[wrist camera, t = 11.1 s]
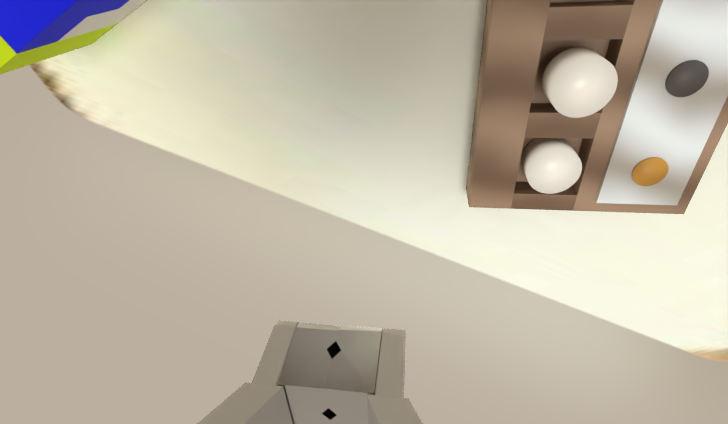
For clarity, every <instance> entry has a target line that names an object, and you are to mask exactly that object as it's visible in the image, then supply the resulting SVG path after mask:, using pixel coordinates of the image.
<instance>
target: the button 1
mask: <svg viewBox="0 0 728 424" xmlns="http://www.w3.org/2000/svg"><path fill="white" fill-rule="evenodd" d="M521 165H522V168H523V170H524V173H525V175H526V178H527V180H528V183H529V184H530V186H531V187H532V188H533V189H535V190H536V191H538V192H541V193H546V194H553V193H559V192H562V191H564V190H566V189H568V188H570V187H571V186H572V185H573V184H574V183H575V182H576V181H577V180H578V179H579V177H580V175H581V171H582V163H581V160H580V158H579V156H578V155H577V153H576V152H575V150H574V149H573V147H572V146H571V144H570V143H569V142H568V141H567V140H566V139H565V138H536V139H534V140H533V141H531V142H530V143H529V144H528V145H527V146H526V147H525V149H524V151H523V153H522V156H521Z"/></svg>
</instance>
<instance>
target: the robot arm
mask: <svg viewBox="0 0 728 424" xmlns="http://www.w3.org/2000/svg"><path fill="white" fill-rule="evenodd" d="M404 374H405V330H396V329H383V328H373V327H357V326H333V325H323V324H313V323H303V322H292V321H291V322H290V321H280V320H279V321H278V322H277V323H276V325H275V326H274V328H273V330H272V333H271V335H270V338H269V340H268V343H267V346H266V348H265V351H264V353H263V356H262V358H261V361H260V363H259V366H258V368H257V371H256V374H255V376H254V378H253V381H252V383H244V384H243V385H242V386H241V387H240V388H239V389H238V390H236V391H235V392H234V393H233V394H231V395H230V396H229V397H228V398H227V399H226V400H224V401H223V402H222V403H221V404H220V405H219V406H217V407H216V408H215V409H214V410H213V411H211V412H210V414H208V415H207V416H206V417H205V418H203V419H202V420H201V421H200V422H199V423H197V424H423V423H422V421H421V419H420V418H419V416H418V414H417V412H416V411H415V409H414V407H413V405H412V404H411V402H410V400H409V398H404Z"/></svg>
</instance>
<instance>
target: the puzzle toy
mask: <svg viewBox="0 0 728 424" xmlns="http://www.w3.org/2000/svg"><path fill="white" fill-rule="evenodd" d="M146 1H147V0H0V74H3V73H6V72H9V71H12V70H14V69H18V68H21V67H24V66H26V65H30V64H33V63H36V62H39V61H42V60H45V59H48V58H51V57H54V56H57V55H60V54H63V53H66V52H69V51H72V50H75V49H78V48H81V47H84V46H87V45H90V44H92V43H93V42H95V41H96V40H97V39H99V38H100V37H101V36H102V35H104V34H105V33H106V32H107V31H109V30H110V29H111V28H113V27H114V26H115V25H116V24H118V23H119V22H120V21H121V20H123V19H124V18H125V17H127V16H128V15H129V14H130V13H132V12H133V11H134V10H135V9H137V8H138V7H139V6H141V5H142V4H143V3H144V2H146Z"/></svg>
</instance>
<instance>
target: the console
mask: <svg viewBox="0 0 728 424" xmlns="http://www.w3.org/2000/svg"><path fill="white" fill-rule="evenodd" d="M574 47H585V48H589V49H592V50H594V51H595V52H596V53H598V54H599V55H601V56H602V57H603V58H605V59H606V60H608V61H609V62H610V63H611V64H612V65H613V66H614V68H615V69H616V72H617V76H618V83H617V88H616V91H615V93H614V95H613V97H612V98H611V100H610V101H609V102H608V103H607V104H606V105H605V106H604V107H603V108H602V109H600V110H599V111H597V112H596V113H594V114H591V115H589V116H585V117H580V118H572V117H567V116H564V115H562V114H561V113H559V112H558V111H557V110H556V109H555V108H554V106H553V105H552V104H551V102H550V101H549V99H548V98H547V97H546V95H545V93H544V91H543V88H542V77H543V73H544V71H545V69H546V67H547V65H548V64H549V62H550V61H551V60H552V59H553V58H554V57H555V56H557V55H558V54H559V53H561V52H563V51H565V50H567V49H570V48H574ZM727 123H728V0H488V1H487V10H486V19H485V27H484V36H483V45H482V54H481V63H480V72H479V81H478V90H477V99H476V108H475V117H474V125H473V134H472V143H471V152H470V161H469V170H468V179H467V188H466V190H467V197H468V204H469V207H483V208H514V209H544V210H574V211H605V212H635V213H666V214H684V213H685V210H686V208H687V206H688V204H689V202H690V200H691V198H692V196H693V194H694V192H695V190H696V188H697V186H698V183H699V181H700V179H701V177H702V175H703V173H704V171H705V169H706V167H707V165H708V163H709V161H710V159H711V157H712V154H713V152H714V150H715V148H716V146H717V144H718V142H719V140H720V138H721V136H722V134H723V132H724V130H725V128H726V125H727ZM536 138H565V139H566V140H567V141H568V142H569V143H570V144H571V146H572V147H573V149H574V150H575V152H576V153H577V155H578V156H579V158H580V160H581V163H582V171H581V175H580V177H579V179H578V180H577V181H576V182H575V183H574V184H573V185H572V186H571V187H570V188H568V189H566V190H564V191H562V192H559V193H553V194H546V193H541V192H538V191H536V190H535V189H533V188H532V187H531V186H530V184H529V183H528V180H527V178H526V175H525V173H524V170H523V168H522V165H521V156H522V153H523V151H524V149H525V147H526V146H527V145H528V144H529V143H530V142H531V141H533V140H534V139H536Z"/></svg>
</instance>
